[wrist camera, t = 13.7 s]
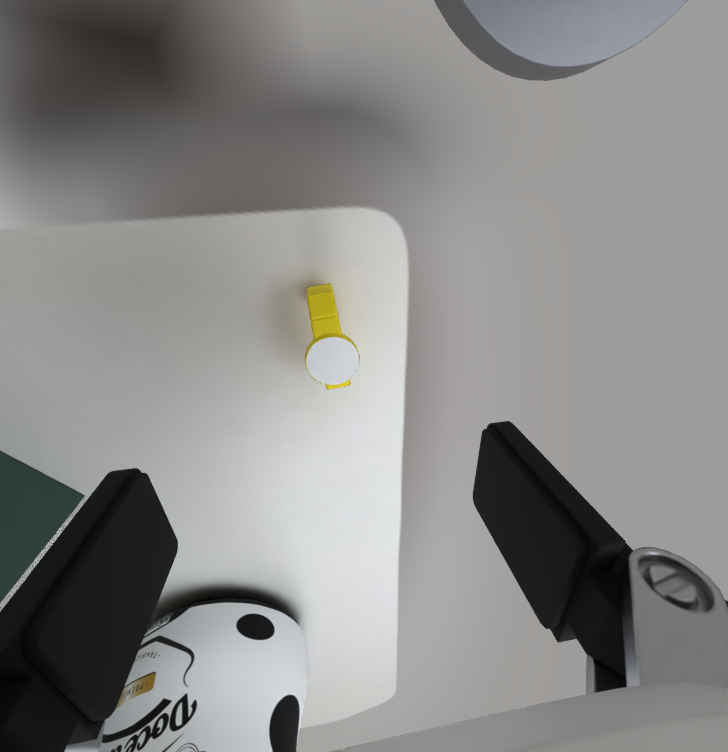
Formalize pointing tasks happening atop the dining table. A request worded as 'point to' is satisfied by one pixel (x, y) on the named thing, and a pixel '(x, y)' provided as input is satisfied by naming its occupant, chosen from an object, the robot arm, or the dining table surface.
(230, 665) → the doce de leite jar
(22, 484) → the bin
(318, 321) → the watch
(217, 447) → the dining table surface
